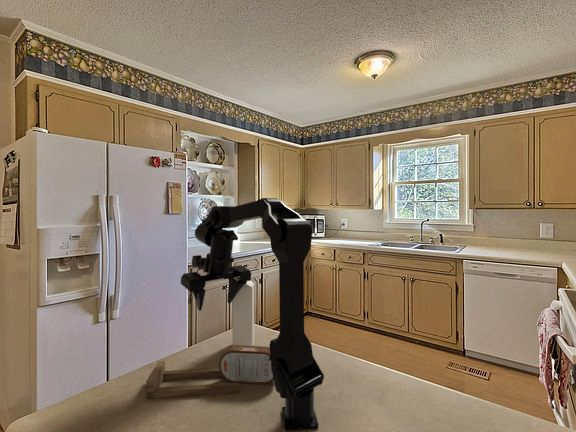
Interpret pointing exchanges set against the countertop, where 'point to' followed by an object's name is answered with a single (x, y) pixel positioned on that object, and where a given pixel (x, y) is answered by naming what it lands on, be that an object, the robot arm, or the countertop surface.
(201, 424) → the countertop surface
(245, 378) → the tin
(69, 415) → the countertop surface
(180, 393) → the wooden frame
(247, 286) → the milk
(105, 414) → the countertop surface
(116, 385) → the countertop surface
